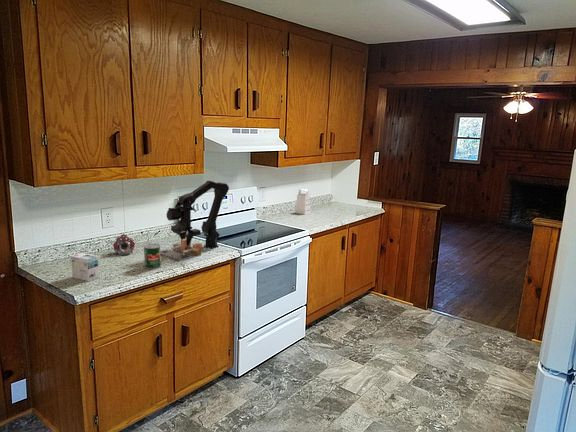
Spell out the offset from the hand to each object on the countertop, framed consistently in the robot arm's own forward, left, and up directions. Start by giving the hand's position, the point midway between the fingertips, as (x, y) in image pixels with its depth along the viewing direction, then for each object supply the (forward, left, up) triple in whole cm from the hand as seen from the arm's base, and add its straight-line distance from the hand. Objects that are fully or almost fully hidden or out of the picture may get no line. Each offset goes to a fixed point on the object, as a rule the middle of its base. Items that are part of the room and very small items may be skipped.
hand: (185, 245), depth 250 cm
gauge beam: (+4, +1, -4) cm, 6 cm away
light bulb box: (+59, -3, -4) cm, 59 cm away
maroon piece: (+24, -23, -4) cm, 34 cm away
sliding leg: (+4, 0, -4) cm, 5 cm away
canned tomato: (+29, +7, -4) cm, 30 cm away
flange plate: (+10, +1, -4) cm, 11 cm away
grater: (-144, -15, -4) cm, 145 cm away
